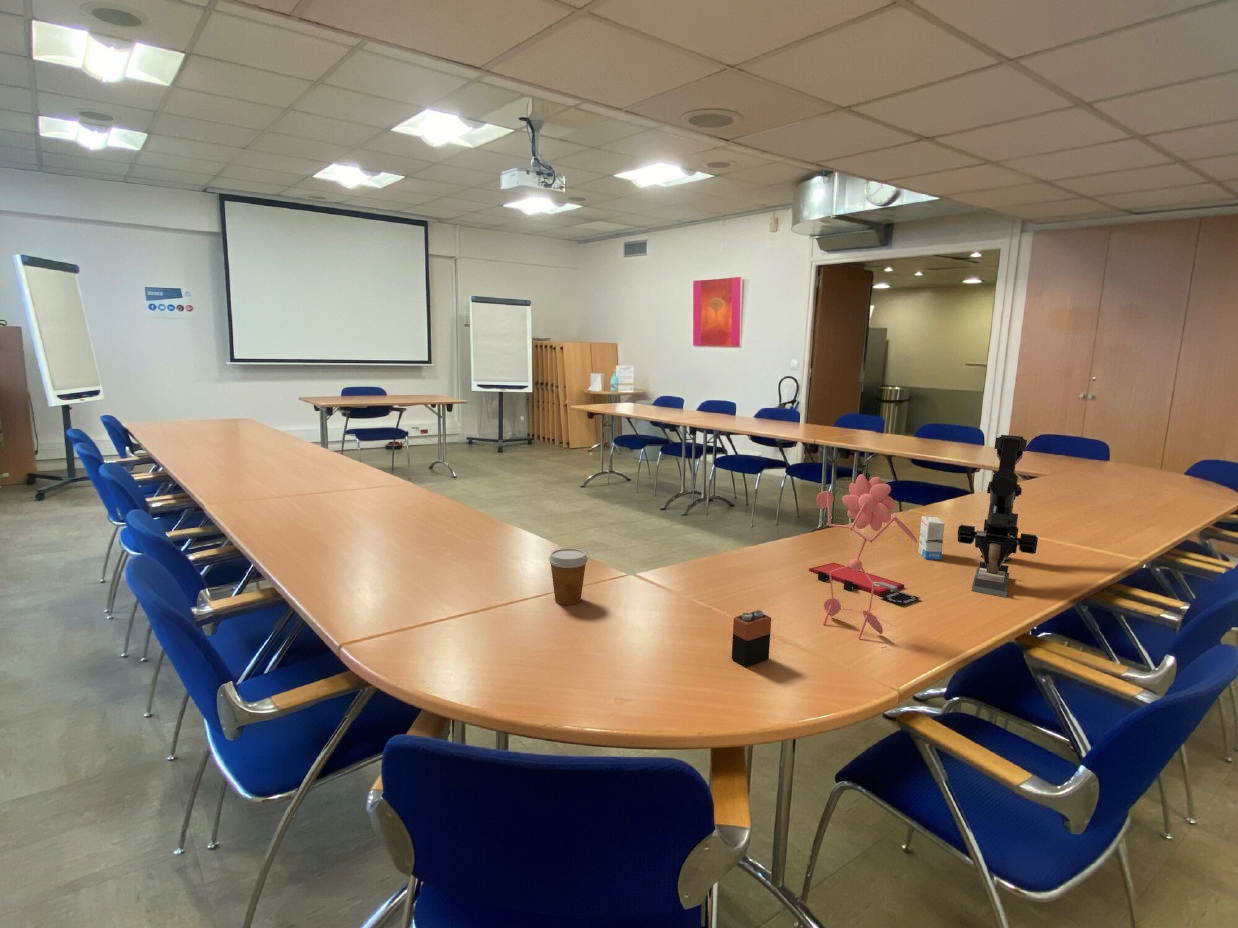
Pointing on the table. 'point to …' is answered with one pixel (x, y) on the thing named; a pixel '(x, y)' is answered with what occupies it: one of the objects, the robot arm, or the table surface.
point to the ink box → (931, 538)
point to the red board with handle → (863, 582)
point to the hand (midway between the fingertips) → (992, 565)
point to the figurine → (865, 508)
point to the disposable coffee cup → (568, 574)
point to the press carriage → (992, 566)
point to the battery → (751, 638)
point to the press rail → (991, 583)
